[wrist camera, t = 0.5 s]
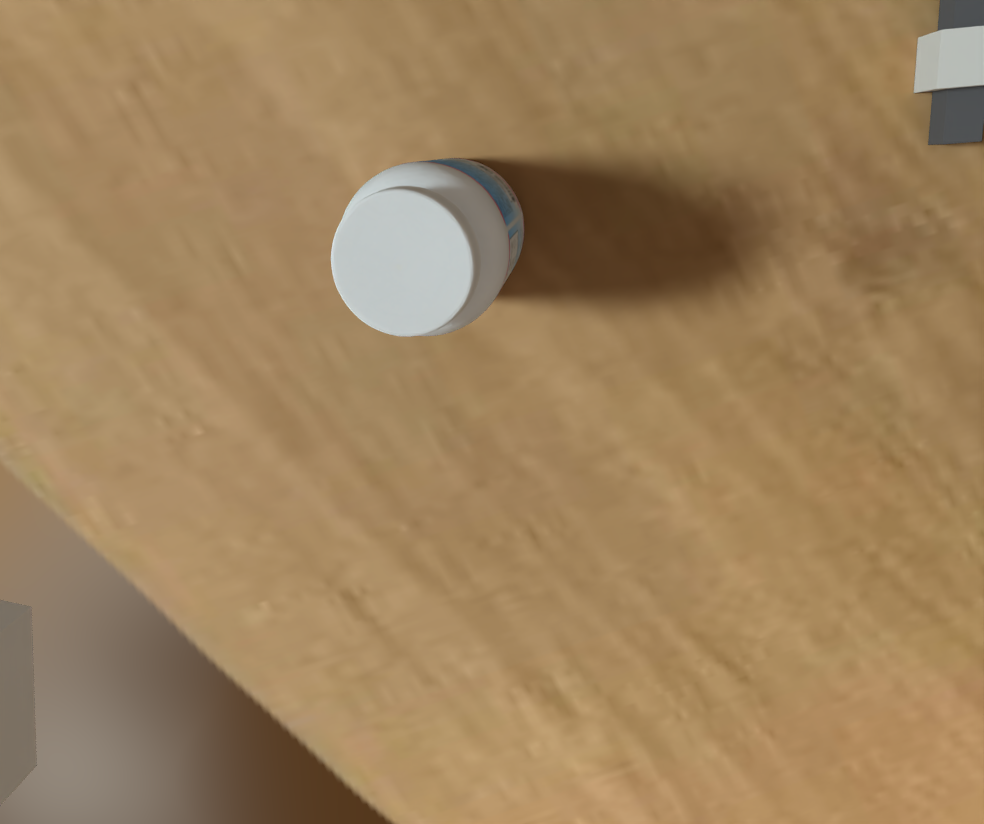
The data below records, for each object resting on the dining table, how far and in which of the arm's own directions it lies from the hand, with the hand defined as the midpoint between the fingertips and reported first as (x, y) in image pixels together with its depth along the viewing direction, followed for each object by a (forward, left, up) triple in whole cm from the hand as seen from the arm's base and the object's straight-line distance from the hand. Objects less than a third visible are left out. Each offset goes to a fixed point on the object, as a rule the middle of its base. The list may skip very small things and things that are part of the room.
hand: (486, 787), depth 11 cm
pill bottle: (-5, -4, -27) cm, 28 cm away
